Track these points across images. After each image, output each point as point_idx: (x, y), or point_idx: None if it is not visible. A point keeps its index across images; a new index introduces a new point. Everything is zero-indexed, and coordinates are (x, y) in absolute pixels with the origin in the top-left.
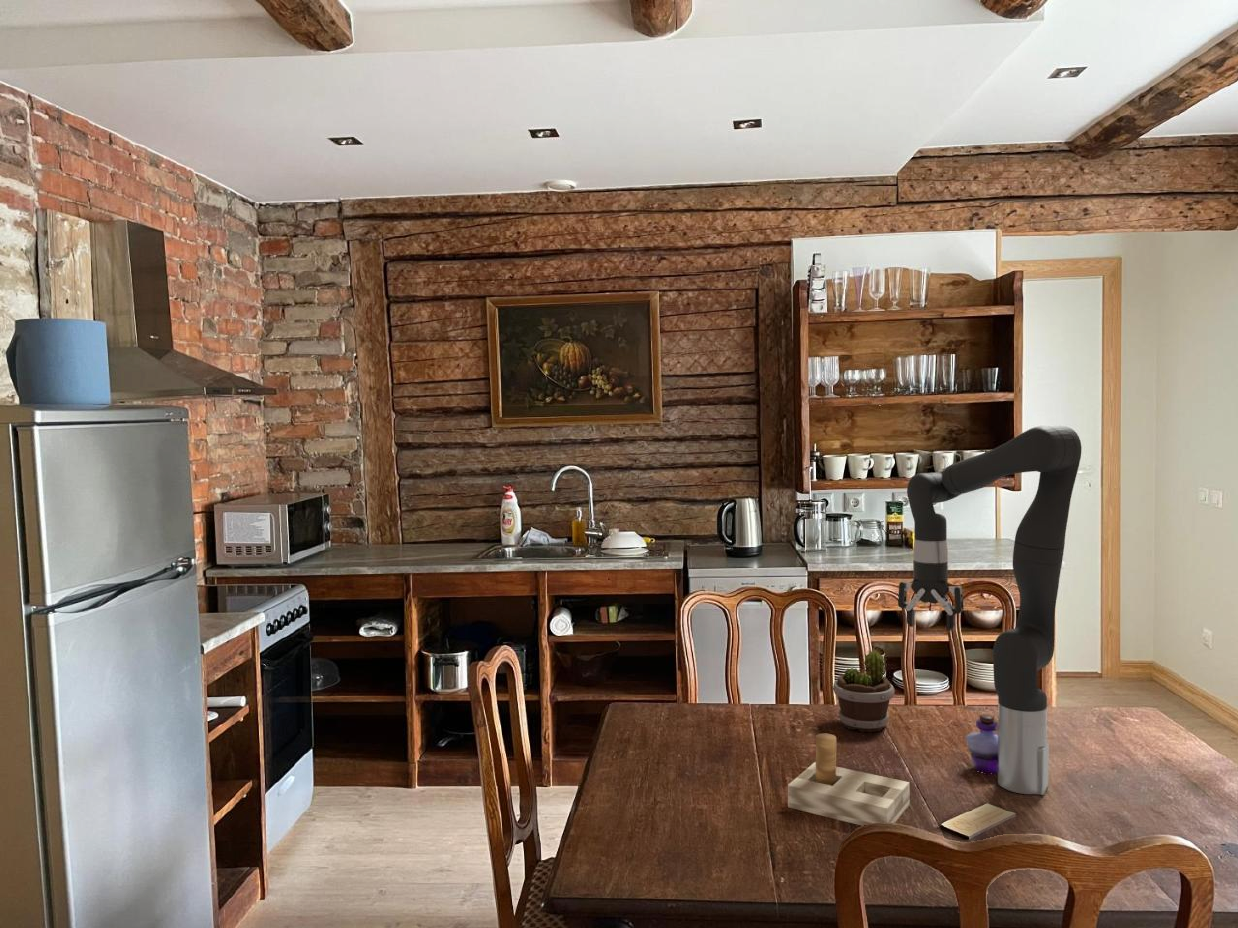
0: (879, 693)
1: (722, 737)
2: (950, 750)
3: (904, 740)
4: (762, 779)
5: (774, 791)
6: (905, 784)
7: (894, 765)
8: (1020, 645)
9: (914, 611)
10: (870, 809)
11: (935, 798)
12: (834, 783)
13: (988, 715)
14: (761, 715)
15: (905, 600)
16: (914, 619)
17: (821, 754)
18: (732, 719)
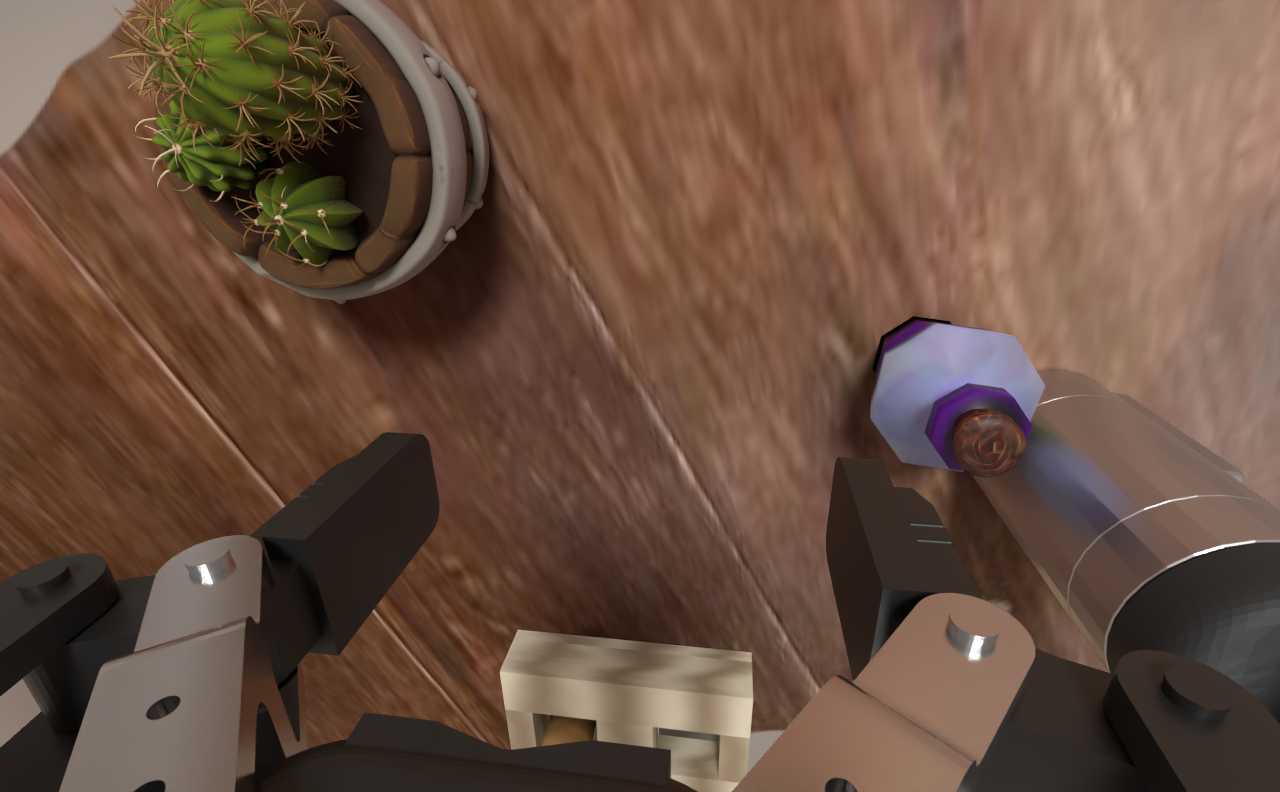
0: (428, 247)
1: (171, 476)
2: (773, 239)
3: (597, 225)
4: (416, 654)
5: (471, 693)
6: (747, 711)
7: (644, 455)
8: None
9: (323, 534)
10: None
11: (802, 604)
12: (592, 739)
13: (998, 437)
14: (99, 245)
15: (38, 656)
16: (389, 470)
17: None
18: (75, 332)
